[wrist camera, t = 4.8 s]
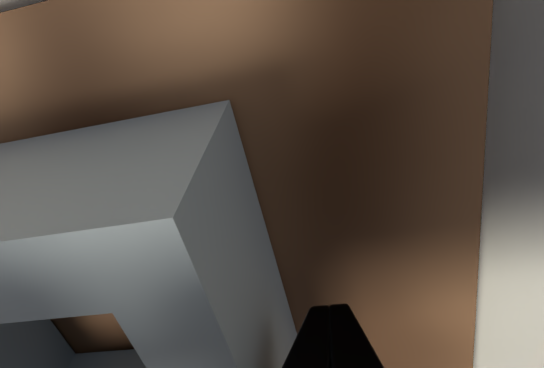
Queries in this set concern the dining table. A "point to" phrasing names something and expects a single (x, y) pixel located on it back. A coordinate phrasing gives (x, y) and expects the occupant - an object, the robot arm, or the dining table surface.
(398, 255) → the base board
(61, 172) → the sliding block
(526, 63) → the dining table surface
